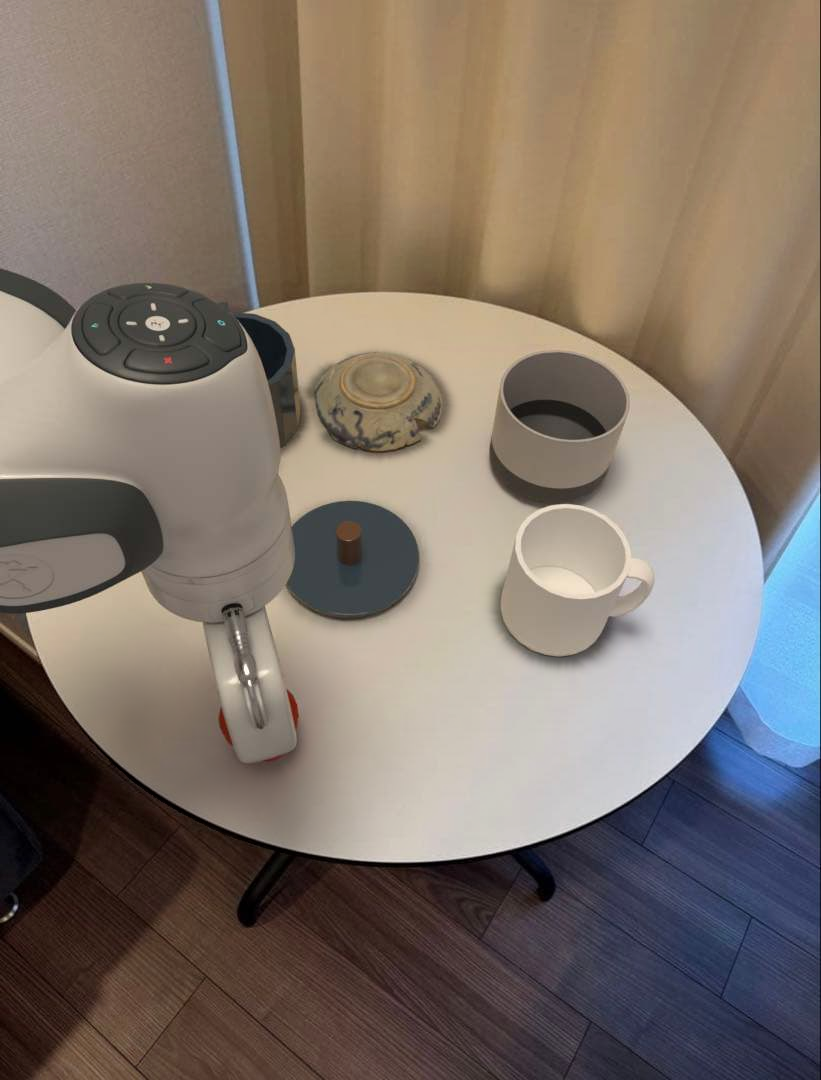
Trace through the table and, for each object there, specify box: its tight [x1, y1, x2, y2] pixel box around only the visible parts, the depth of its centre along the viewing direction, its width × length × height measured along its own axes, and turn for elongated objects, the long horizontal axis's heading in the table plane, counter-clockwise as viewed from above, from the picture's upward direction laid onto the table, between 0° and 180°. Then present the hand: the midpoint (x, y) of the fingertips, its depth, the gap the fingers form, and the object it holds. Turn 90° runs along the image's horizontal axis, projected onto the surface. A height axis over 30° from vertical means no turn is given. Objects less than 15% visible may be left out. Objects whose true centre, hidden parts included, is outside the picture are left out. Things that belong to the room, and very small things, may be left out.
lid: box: [285, 500, 420, 618], centre depth 81 cm, size 14×14×5 cm
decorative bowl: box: [313, 352, 444, 452], centre depth 95 cm, size 15×4×15 cm
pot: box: [218, 301, 301, 449], centre depth 90 cm, size 13×18×10 cm
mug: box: [500, 503, 656, 657], centre depth 76 cm, size 13×10×10 cm
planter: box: [488, 349, 631, 503], centre depth 87 cm, size 13×13×10 cm
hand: (246, 658), depth 60 cm, fingers open, 8 cm apart
